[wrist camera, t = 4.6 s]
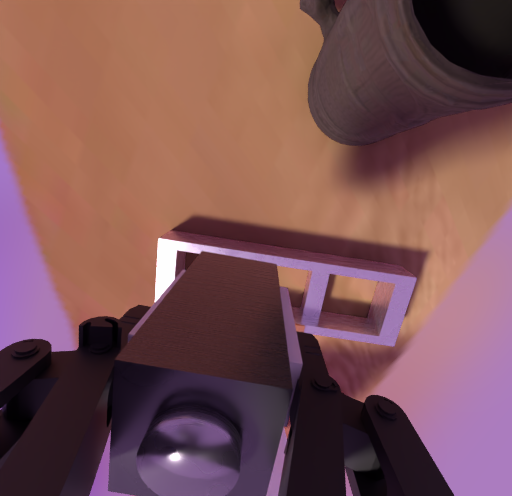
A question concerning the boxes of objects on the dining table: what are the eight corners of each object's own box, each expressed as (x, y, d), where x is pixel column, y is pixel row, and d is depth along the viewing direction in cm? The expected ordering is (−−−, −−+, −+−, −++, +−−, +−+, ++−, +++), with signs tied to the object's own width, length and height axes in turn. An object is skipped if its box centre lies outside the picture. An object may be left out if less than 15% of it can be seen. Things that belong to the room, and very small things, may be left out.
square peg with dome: (202, 250, 17) (100, 376, 6) (276, 263, 17) (295, 409, 6) (193, 317, 18) (96, 515, 8) (263, 329, 18) (261, 541, 8)
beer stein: (444, 78, 28) (817, -157, 8) (372, 170, 30) (529, 154, 11) (319, -20, 27) (416, -537, 7) (256, 84, 29) (206, -98, 10)
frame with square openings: (170, 230, 33) (157, 238, 29) (399, 265, 33) (418, 279, 29) (166, 294, 35) (153, 311, 31) (380, 327, 36) (395, 348, 32)
